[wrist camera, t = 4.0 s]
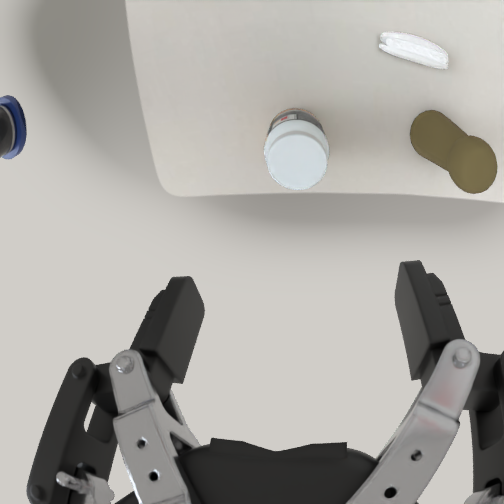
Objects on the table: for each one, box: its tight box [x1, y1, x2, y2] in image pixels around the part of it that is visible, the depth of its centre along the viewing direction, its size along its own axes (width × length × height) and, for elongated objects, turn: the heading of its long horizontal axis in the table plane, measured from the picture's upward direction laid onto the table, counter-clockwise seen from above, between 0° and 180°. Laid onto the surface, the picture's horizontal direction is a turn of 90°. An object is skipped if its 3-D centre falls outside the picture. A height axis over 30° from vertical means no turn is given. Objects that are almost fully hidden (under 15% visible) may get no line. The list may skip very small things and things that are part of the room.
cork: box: [410, 110, 497, 194], centre depth 21 cm, size 6×6×11 cm
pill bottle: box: [264, 108, 330, 190], centre depth 25 cm, size 6×6×10 cm
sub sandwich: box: [379, 32, 449, 69], centre depth 19 cm, size 3×8×3 cm, turn 90°
